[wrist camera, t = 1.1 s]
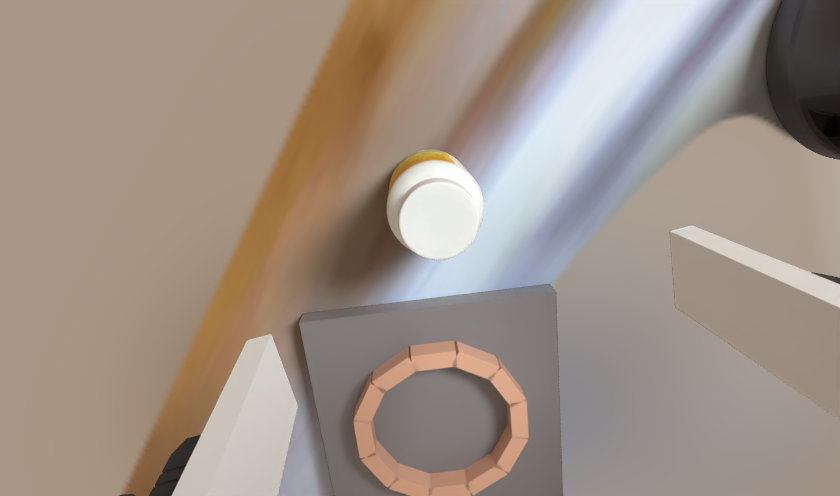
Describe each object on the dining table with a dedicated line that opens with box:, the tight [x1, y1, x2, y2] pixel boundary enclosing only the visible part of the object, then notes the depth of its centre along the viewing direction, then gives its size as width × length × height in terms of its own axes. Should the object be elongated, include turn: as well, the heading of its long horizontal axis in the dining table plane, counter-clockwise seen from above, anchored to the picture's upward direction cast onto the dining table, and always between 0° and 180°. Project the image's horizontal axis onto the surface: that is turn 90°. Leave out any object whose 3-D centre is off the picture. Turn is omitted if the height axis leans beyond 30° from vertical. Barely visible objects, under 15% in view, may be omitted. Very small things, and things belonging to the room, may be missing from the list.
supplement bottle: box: [387, 150, 484, 260], centre depth 29 cm, size 5×5×10 cm
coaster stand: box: [299, 284, 563, 496], centre depth 37 cm, size 18×18×3 cm
